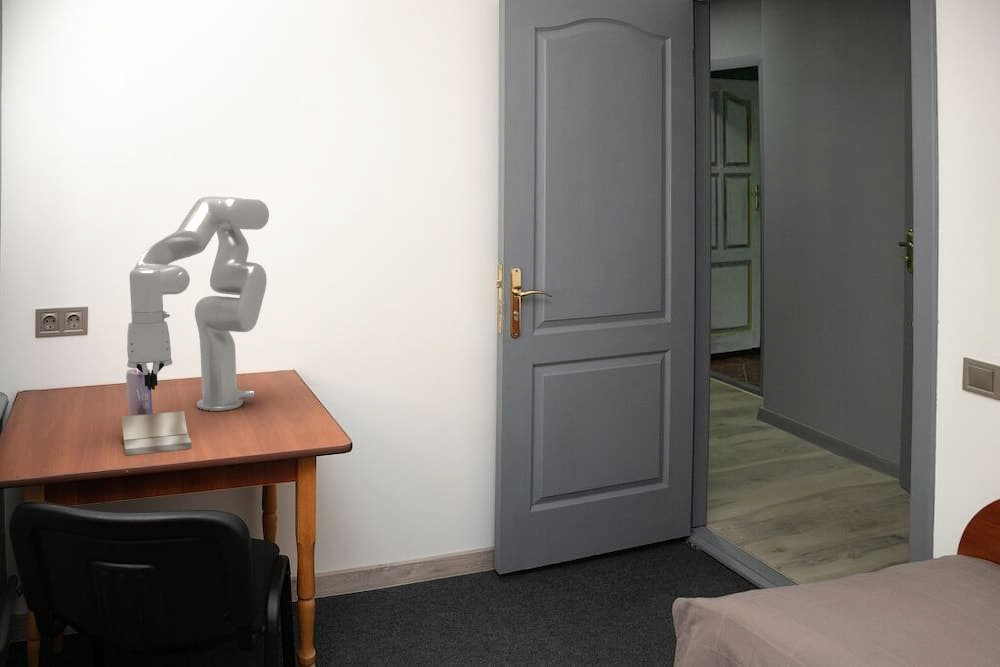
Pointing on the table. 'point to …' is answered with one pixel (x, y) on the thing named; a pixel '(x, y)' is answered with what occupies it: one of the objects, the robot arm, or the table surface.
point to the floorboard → (157, 444)
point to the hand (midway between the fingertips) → (151, 388)
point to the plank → (154, 425)
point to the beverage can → (138, 394)
